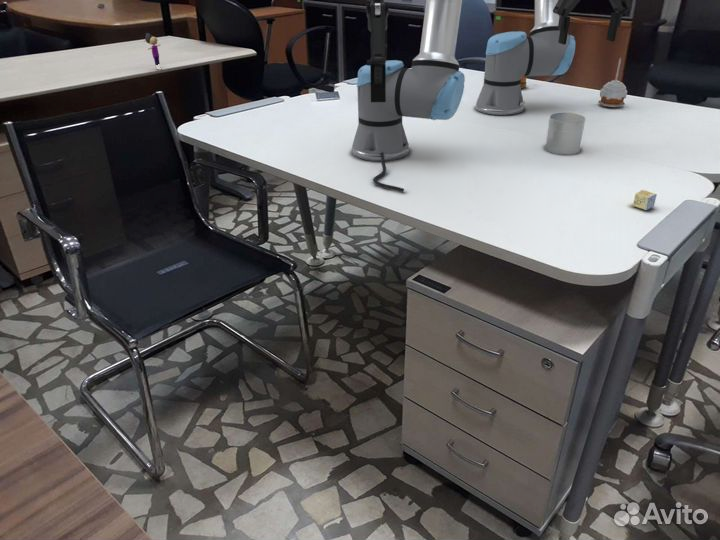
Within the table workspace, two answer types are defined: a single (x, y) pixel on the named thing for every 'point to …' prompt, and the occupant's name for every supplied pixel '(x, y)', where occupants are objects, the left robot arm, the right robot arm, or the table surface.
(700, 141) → the table surface
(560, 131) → the can
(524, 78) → the burger
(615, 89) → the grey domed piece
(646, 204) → the alphabet block
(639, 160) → the table surface
